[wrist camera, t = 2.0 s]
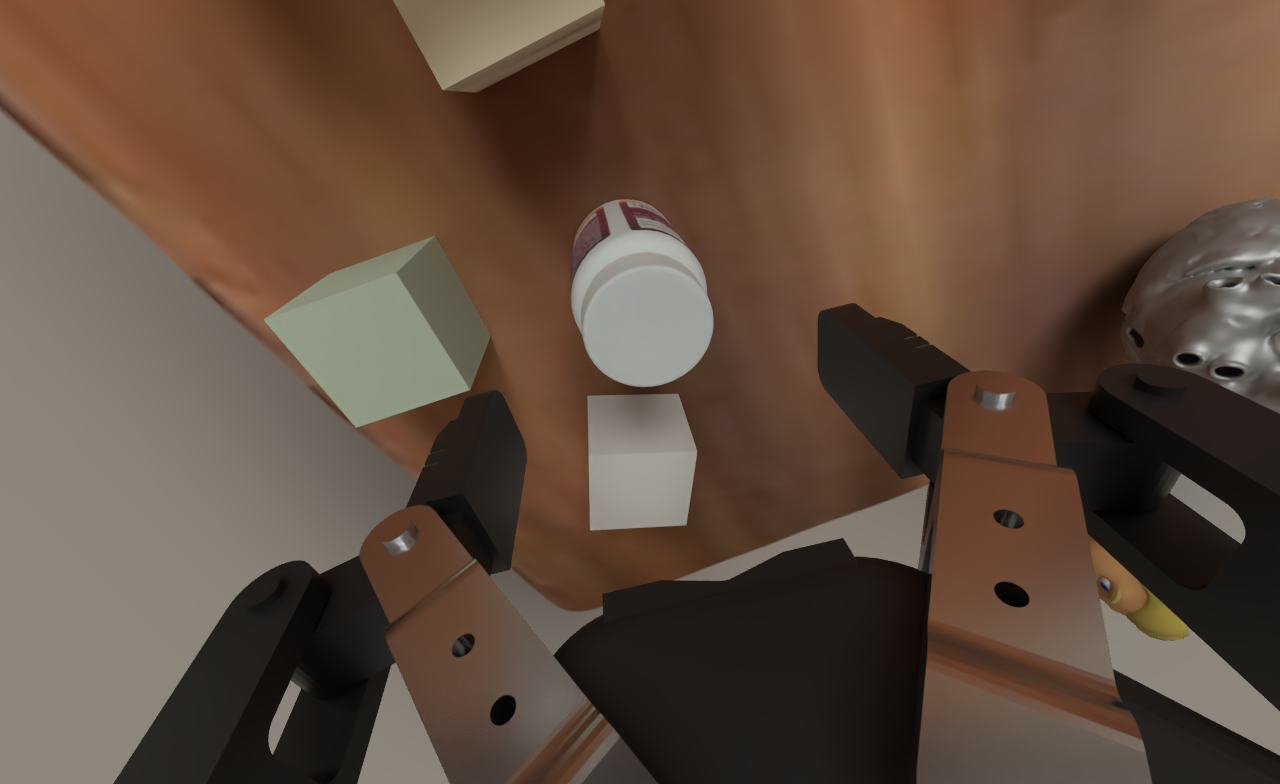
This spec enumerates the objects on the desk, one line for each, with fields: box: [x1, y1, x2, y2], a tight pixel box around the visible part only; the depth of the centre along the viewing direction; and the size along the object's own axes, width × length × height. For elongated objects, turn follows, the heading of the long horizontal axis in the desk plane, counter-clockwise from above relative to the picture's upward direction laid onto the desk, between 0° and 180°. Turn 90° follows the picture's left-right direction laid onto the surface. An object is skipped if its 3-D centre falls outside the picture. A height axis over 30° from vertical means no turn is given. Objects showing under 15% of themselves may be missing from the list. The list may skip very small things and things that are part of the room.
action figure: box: [971, 370, 1189, 641], centre depth 20 cm, size 9×4×15 cm, turn 36°
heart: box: [1066, 198, 1280, 414], centre depth 20 cm, size 10×10×12 cm
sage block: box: [264, 236, 491, 428], centre depth 19 cm, size 5×5×5 cm
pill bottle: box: [571, 199, 713, 387], centre depth 17 cm, size 5×5×8 cm
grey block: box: [587, 394, 697, 531], centre depth 24 cm, size 5×5×5 cm
